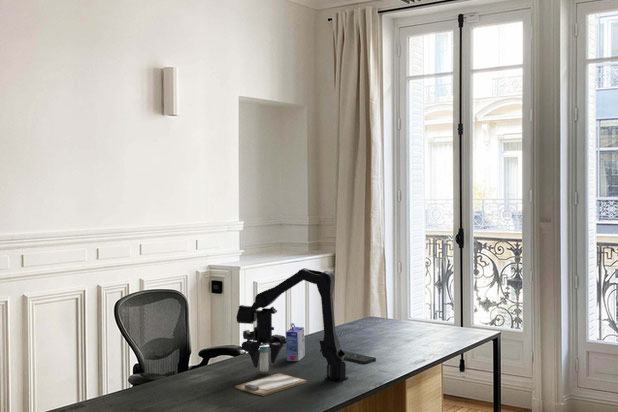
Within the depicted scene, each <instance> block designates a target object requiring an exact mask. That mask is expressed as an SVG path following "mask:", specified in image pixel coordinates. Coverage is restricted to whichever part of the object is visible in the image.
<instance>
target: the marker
mask: <svg viewBox="0 0 618 412" xmlns="http://www.w3.org/2000/svg"><path fill="white" fill-rule="evenodd" d="M259 351H260V355H259V371H260V375H268V372H269V352H270V347H269V346H266V345H264V346H260V348H259Z"/></svg>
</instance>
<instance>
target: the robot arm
mask: <svg viewBox="0 0 618 412" xmlns="http://www.w3.org/2000/svg"><path fill="white" fill-rule="evenodd" d="M335 280H336V279H335V274H334V273H333V272H331V271H330V270H329V271H328V270H324V271H320V270H314V269H313V270H312V269H309V268H306V267H305V268H302V269H299V270H298V271H297V272H296V273H295V274H293V275H291V276H289V277H288V278H286V279H285V280H284V281H282V282H280V283H278V284H277V285H275V286H273V287H270V288H268V289H266V290H263V291H261V292H259V293H257V294H256V296H255V298H254V302H253V303H252V305H250V306H249V305H244V304H243V305H242V304H241V305H239V306H238V310H237V314H236V322H237V324H249V325H253V324H254V323H255V322H256V326H254V328H253V331H250V329H246V330H243V331H242V336H243V340H246V341H243V342H242V343H241V350H243V351H244V352H245V353H248V354H249V357H250V359H251V362H252V364H253V367H254V368H258V365H259V362H260V347H264V346H266V345H268V347H269V350H270V362H271V364H274V363H275V361H276V360H277V357H278V355H279V353H280V352H281V350H282V348H283V347H284V345H286V335H285V336H284V335H282V334H273V331H275V327H274V326H273V323H272V321H273V318H272V317H273V315H274V314H277V313H278V310H277V309H276V308H275V307H274V306H271V304H273V303H274V302H275V301H276V300H277V299H278V298H279V297H280V296H281V295H282V294H284V293H286V292H287V291H289V290H290V289H292V288H293V287H295V286H296V285H298V284H300V283H301V282H303V281H306V282H308V283H311V284H313V285H316V288H317V291H318V293H319V296H320V300H321V301H320V302H321V310H322V313H321V314H322V321H323V322H322V323H323V334H324V335H323V337H321V339H320V340H319V345H320V350H319V352H320V353H321V355H322V357H323V358H325V360H326V363H327V365H326V376H325V377H324V380H329V381H333V382H336V383H339V382H341V381H344V380H347V379H349V377H348V376H346V375H347V374H346V373H347V372H346V371H347V369H346V368H347V365H346V362H345V361H346V360H345V358H346V354H345V353H344V352H343V351H344V350H342V348H341V343H340V340H339V337H338V335H337V333H336V323H335V322H336V320H335V312H334V299H333V298H334V297H333V293H334V289H335ZM268 306H271V307H270V308H268ZM260 308H261V310H259V309H260Z"/></svg>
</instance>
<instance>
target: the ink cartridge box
mask: <svg viewBox="0 0 618 412" xmlns="http://www.w3.org/2000/svg"><path fill="white" fill-rule="evenodd" d="M290 327H291V328H289V329H288V330H287V331H285V338H286V344H285V345H286V361H288V362H299V361H301V360H302V359H303V358H304V357H305V355H306V352H305V350H306V345H305V327H303V326H301V327H300V326H296V325H295V323H294V322H291V323H290Z"/></svg>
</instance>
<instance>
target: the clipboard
mask: <svg viewBox="0 0 618 412" xmlns="http://www.w3.org/2000/svg"><path fill="white" fill-rule="evenodd" d="M306 383H307V379H303V378H299V377H295V376H291V375H287V374H284V373H276V374H272V375H268V376H265V377H261V378H258V379H255V380H252V381H247V382H244V383H240V384H237V385H235V389H238V390H241V391H245V392H248V393H251V394H255V395H258V396H261V397H265V396H267V395H271V394H272V395H273V394H275V393H277V392H281V391H284V390H287V389H291V388H293V387H297V386H301V385H304V384H306Z"/></svg>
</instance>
